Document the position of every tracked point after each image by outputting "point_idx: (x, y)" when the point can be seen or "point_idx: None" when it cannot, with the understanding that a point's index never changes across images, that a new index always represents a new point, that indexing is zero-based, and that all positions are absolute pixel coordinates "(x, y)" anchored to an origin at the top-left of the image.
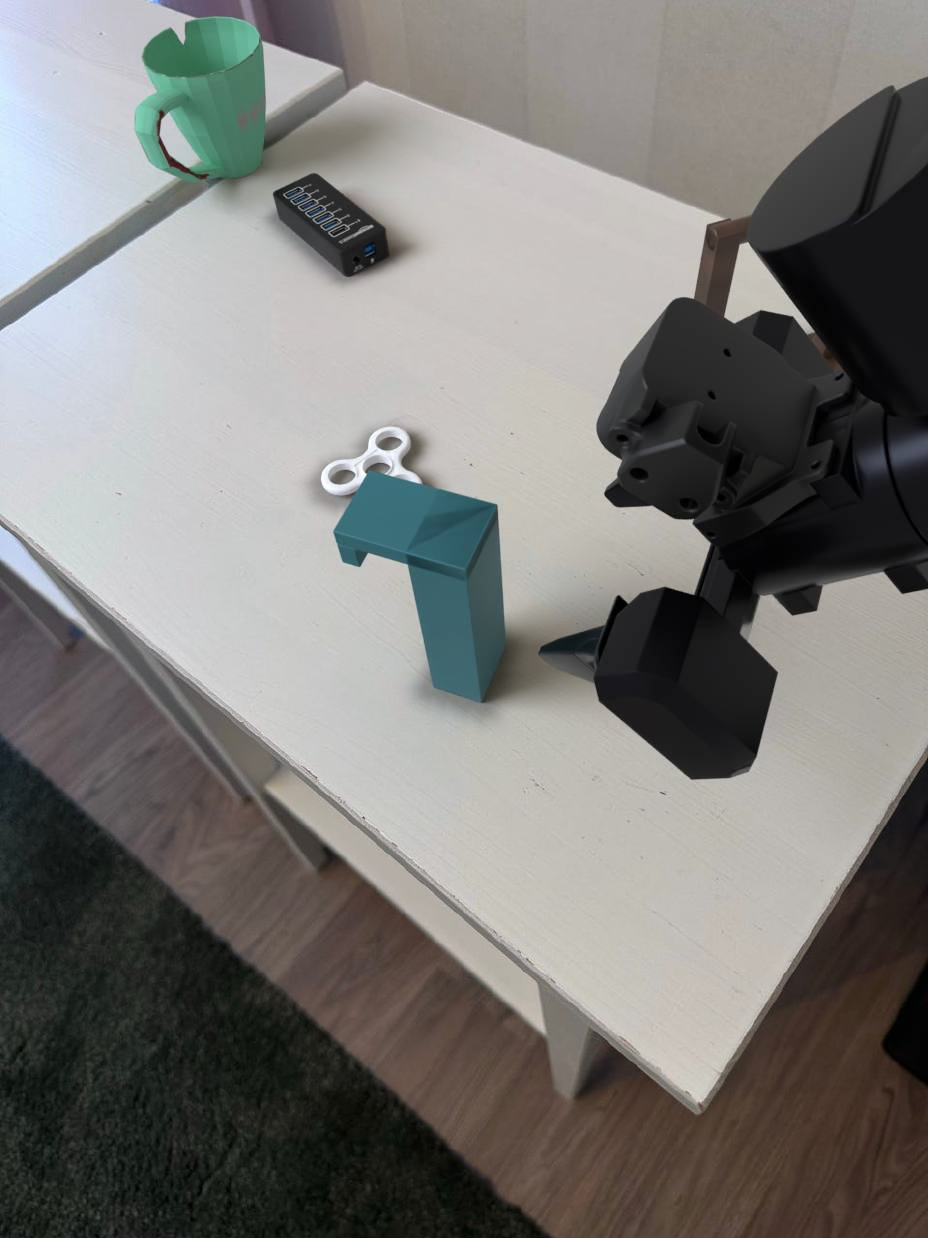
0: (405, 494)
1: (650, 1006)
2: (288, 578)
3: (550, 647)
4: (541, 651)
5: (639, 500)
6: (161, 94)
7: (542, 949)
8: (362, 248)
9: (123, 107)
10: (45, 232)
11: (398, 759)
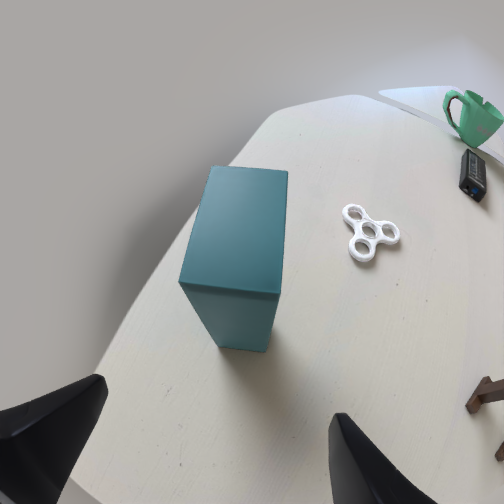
0: (268, 203)
1: None
2: None
3: (81, 384)
4: (91, 376)
5: (331, 457)
6: (462, 95)
7: None
8: (473, 186)
9: (456, 109)
10: (400, 95)
11: (170, 305)
